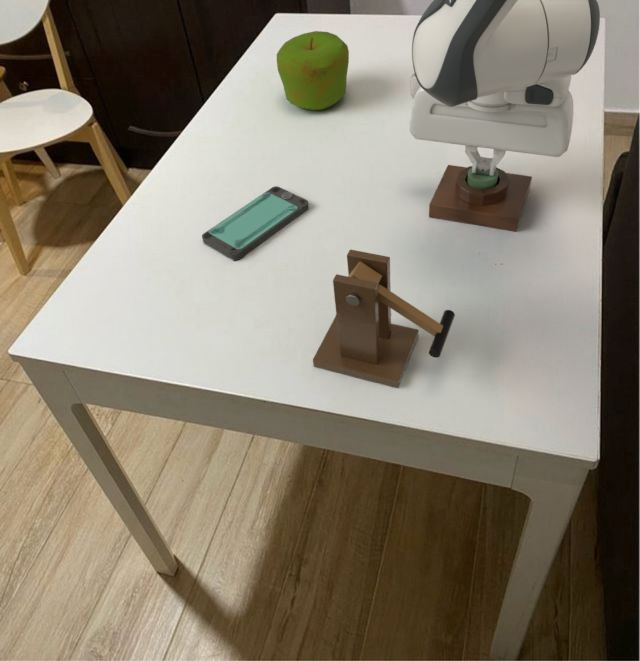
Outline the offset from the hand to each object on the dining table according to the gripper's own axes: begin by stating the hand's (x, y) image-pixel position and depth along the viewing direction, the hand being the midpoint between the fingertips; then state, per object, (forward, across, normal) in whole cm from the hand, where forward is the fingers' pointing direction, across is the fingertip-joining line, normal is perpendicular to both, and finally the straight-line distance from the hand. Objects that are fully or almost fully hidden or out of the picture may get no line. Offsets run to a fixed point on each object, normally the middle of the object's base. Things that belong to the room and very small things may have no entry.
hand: (483, 172), depth 89 cm
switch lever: (-3, -3, -31) cm, 31 cm away
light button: (+2, 0, 0) cm, 2 cm away
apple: (+5, -34, +22) cm, 41 cm away
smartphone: (+5, -29, -13) cm, 32 cm away
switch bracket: (+5, -6, -31) cm, 32 cm away
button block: (+5, 0, 0) cm, 5 cm away
